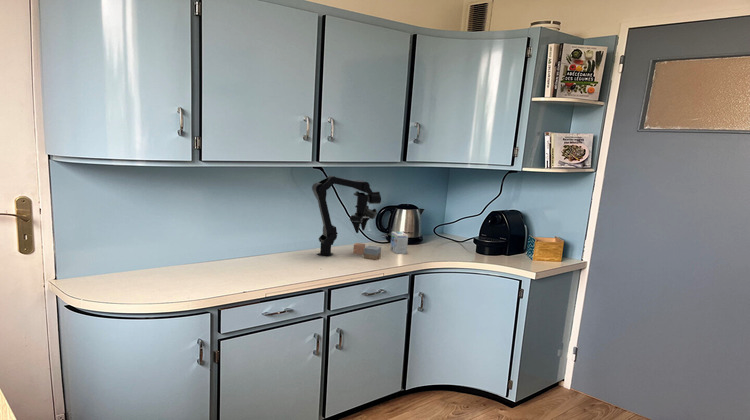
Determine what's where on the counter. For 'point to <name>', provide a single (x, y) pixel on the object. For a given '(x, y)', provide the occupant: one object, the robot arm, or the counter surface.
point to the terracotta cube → (359, 248)
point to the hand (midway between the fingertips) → (360, 231)
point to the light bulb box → (399, 242)
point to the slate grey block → (372, 250)
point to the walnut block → (372, 256)
